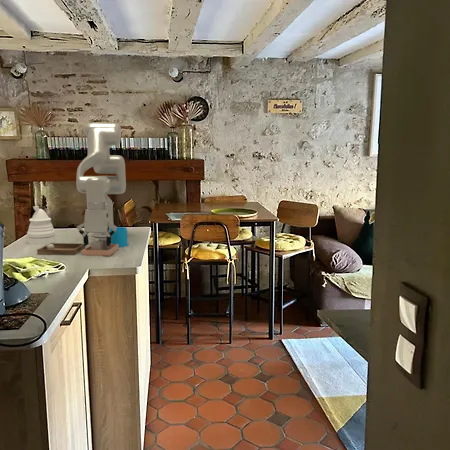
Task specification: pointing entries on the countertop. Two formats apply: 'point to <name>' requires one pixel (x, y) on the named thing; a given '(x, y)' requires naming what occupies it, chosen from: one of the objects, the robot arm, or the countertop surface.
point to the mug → (119, 236)
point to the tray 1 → (61, 249)
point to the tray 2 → (101, 251)
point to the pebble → (50, 247)
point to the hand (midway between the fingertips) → (97, 245)
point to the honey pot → (40, 228)
